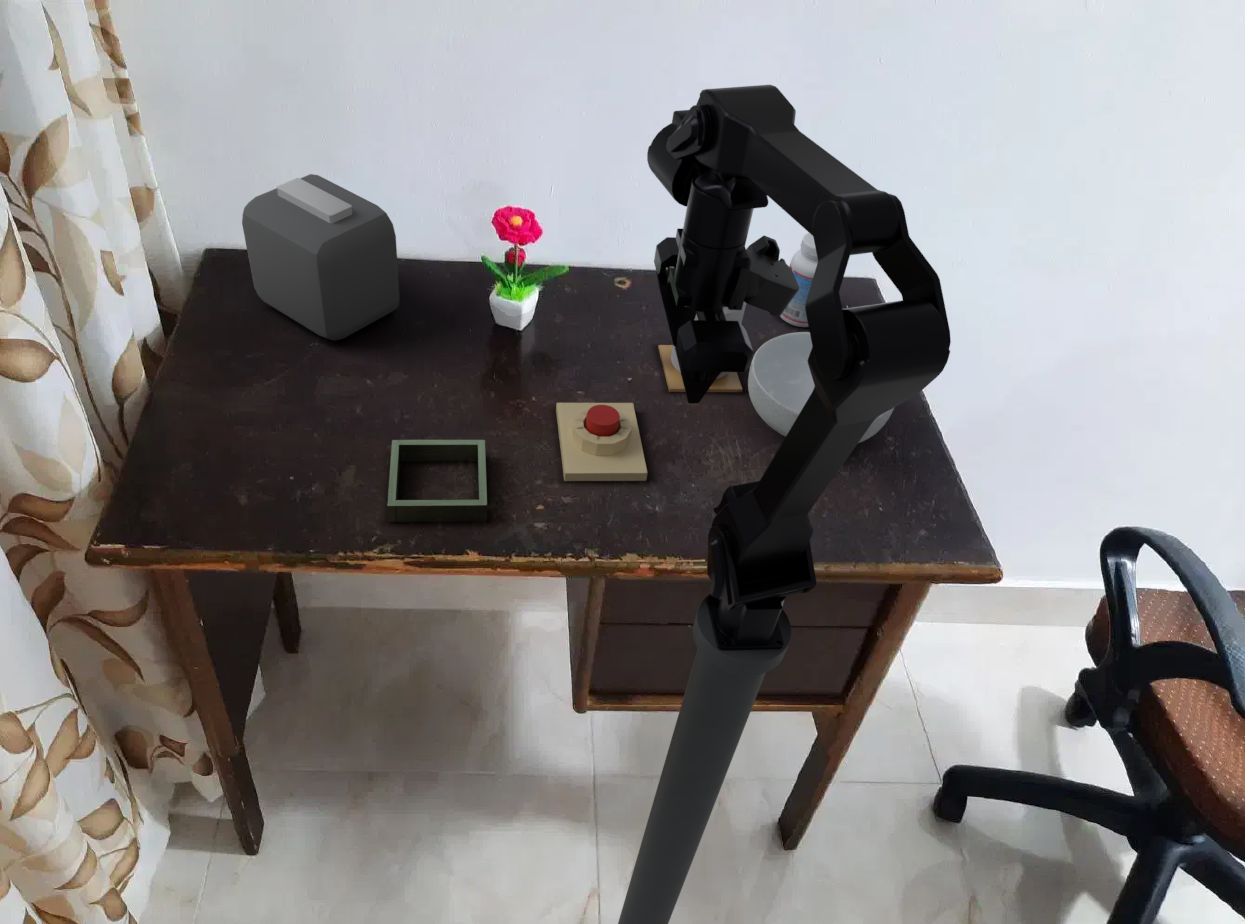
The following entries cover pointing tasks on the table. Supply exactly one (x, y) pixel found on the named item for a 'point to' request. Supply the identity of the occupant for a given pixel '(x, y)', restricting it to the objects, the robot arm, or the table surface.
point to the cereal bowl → (787, 382)
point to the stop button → (602, 420)
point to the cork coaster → (676, 383)
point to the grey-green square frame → (437, 508)
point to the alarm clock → (322, 256)
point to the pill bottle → (801, 281)
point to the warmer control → (600, 446)
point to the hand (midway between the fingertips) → (685, 373)
